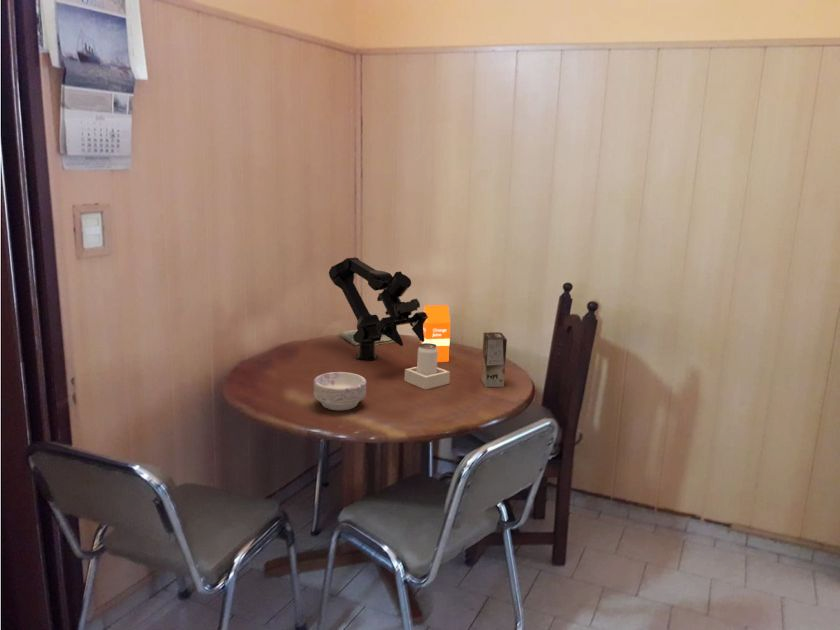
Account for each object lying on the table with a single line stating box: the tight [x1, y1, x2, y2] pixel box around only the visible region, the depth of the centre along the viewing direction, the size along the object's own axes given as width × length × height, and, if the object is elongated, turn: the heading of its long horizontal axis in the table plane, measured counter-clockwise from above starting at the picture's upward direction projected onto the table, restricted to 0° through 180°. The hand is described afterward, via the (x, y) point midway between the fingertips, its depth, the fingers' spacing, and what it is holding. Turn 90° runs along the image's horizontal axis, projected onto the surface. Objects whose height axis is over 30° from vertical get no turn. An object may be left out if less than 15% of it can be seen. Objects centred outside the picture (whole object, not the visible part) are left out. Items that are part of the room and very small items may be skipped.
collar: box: [404, 366, 451, 390], centre depth 224 cm, size 10×10×4 cm
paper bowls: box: [313, 371, 367, 412], centre depth 200 cm, size 15×15×8 cm
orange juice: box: [420, 304, 451, 363], centre depth 248 cm, size 8×9×20 cm
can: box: [416, 343, 438, 376], centre depth 223 cm, size 6×6×12 cm
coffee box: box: [480, 331, 508, 388], centre depth 224 cm, size 9×6×16 cm
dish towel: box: [338, 329, 397, 348], centre depth 273 cm, size 19×18×3 cm
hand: (413, 343), depth 227 cm, fingers open, 9 cm apart
